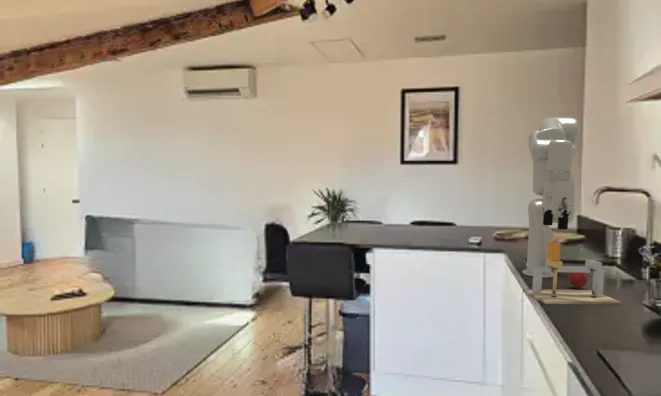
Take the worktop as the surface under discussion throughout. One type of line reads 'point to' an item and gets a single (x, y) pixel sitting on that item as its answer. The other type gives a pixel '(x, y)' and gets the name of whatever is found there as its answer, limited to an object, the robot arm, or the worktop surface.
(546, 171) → the robot arm
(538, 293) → the grey arch frame
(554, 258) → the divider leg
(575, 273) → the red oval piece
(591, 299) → the bolt plate
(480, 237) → the worktop surface
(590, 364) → the worktop surface
